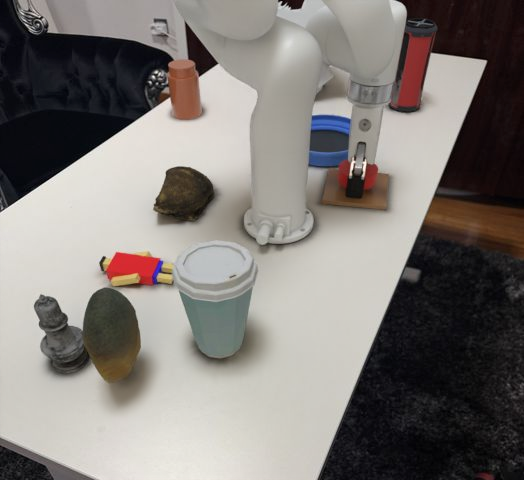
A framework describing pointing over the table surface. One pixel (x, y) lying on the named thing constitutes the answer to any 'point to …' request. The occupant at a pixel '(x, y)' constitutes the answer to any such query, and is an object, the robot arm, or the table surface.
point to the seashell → (184, 193)
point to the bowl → (329, 140)
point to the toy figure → (136, 269)
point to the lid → (345, 167)
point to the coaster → (370, 198)
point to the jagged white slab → (301, 18)
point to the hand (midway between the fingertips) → (355, 185)
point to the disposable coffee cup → (216, 293)
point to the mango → (111, 334)
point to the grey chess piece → (60, 337)
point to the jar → (184, 89)
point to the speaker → (413, 64)
